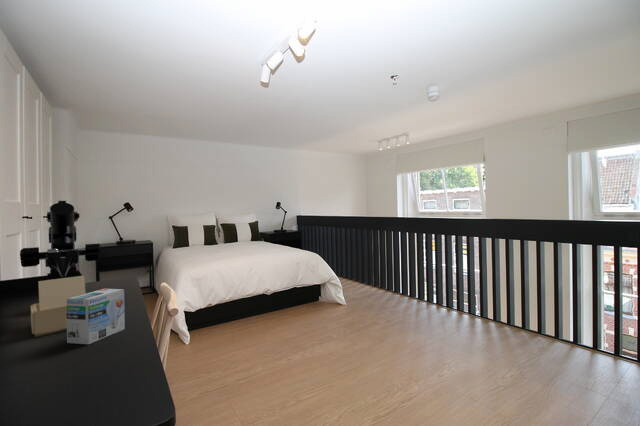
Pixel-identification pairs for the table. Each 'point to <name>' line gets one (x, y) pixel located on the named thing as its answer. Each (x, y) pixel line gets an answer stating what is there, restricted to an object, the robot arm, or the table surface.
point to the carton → (48, 320)
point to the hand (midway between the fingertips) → (63, 276)
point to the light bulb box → (95, 315)
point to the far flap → (59, 291)
